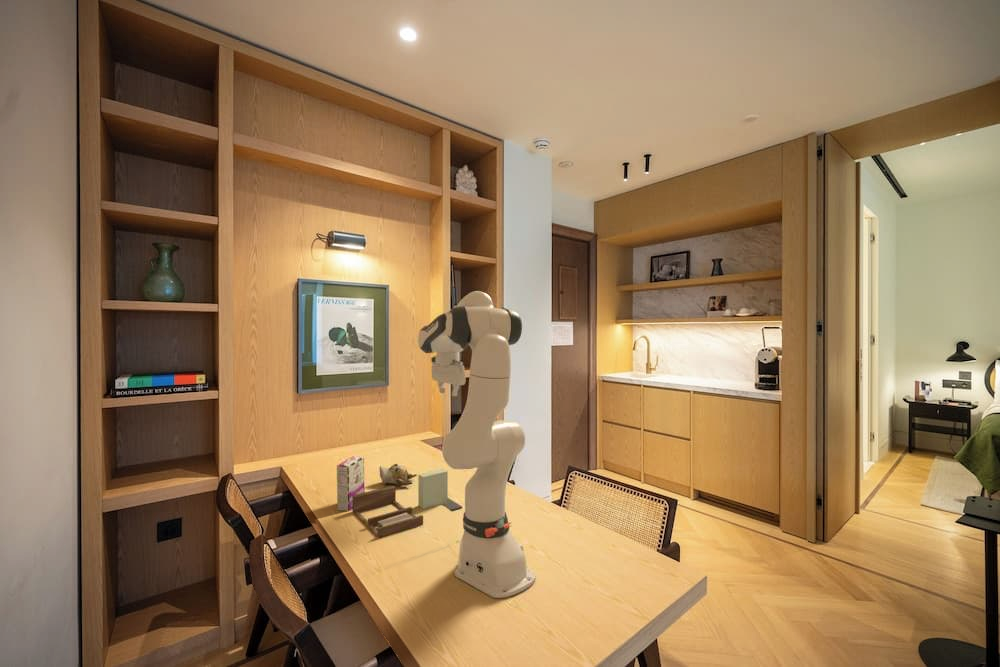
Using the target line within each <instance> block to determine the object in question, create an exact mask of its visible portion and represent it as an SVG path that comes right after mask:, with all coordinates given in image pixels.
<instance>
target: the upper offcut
mask: <svg viewBox="0 0 1000 667" xmlns="http://www.w3.org/2000/svg"><path fill="white" fill-rule="evenodd" d="M410 518H413V517H412V516H411V515H409V514H408V513H403V514H400V515H397V516H394V517H391V518H387V519H384V520H381V521H378V526H377V528H379V527H383V526H386V525H390V524H393V523H396V522H400V521H403V520H407V519H410Z"/></svg>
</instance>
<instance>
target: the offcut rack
mask: <svg viewBox="0 0 1000 667" xmlns="http://www.w3.org/2000/svg"><path fill="white" fill-rule="evenodd" d="M396 490H397V488H396V486H395V485H391V486H386V487H383V488H378V489H373V490H369V491H364V493H360V494H356V495H353V509H352V513H353V514H354V515H355V516H356V517H357V518H358V519H359V520H360V521H361V522H362V523H363V524H364V525H365V526H366V527H367V528H368V529H369V530H370V531H371V532H372V533H373V534H374V535H375V536H376V537H377V538H378V539H381V538H384V537H387V536H390V535H391V536H392V535H393V534H396V533H400V532H403V531H407V530H410V529H413V528H416V527H419V526H423V525H424V515H423V514H420V515H417V516H416V515H415V514H413V507H412V506H409V507H406V508H405V507H404V506H403V505H402V504H400V503H399V502H397V500H396V497H397V495H396V492H397V491H396ZM390 505H394V506H395V507H396V508H398V510H394V511H391V512H387V513H383V514H379V515H376V516H372V517H369V518H365V516H363V515H362V514H361V512H362V513H363V512H365V511H366V512H367V511H370V510H373V509H377V508H382V507H385V506H390ZM403 513H408V514H409V515H411V516H412V517H413V518H410V519H407V520H403V521H400V522H396V523H393V524H390V525H386V526H383V527H379V528H378V521H381V520H384V519H387V518H391V517H394V516H397V515H400V514H403ZM376 527H377V528H376Z"/></svg>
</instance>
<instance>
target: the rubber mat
mask: <svg viewBox="0 0 1000 667" xmlns="http://www.w3.org/2000/svg"><path fill="white" fill-rule="evenodd" d="M442 507H445V508H446V509H447V510H449V511H450V512H454V511H456V510H460V509H463V506H462V505H461V504H458V503H457V502H456V501H454V500H452V499H450V498H449V497H448V504H445V505H442Z"/></svg>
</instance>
